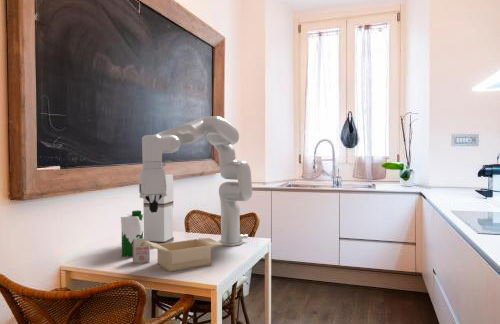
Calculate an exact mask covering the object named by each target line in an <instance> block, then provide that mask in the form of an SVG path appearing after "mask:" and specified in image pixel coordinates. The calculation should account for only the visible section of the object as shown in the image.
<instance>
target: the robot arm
mask: <svg viewBox="0 0 500 324" xmlns="http://www.w3.org/2000/svg"><path fill="white" fill-rule="evenodd" d="M204 137H206V140H207V142H209V143H210V144H211V145H212V146H213V147H214V148H215V150H216V151H217V154H218V155H217V156H218V163H219V173H220V177H221V178H222V179H225V180H230V181H225V182H222V183H221V184H219V187H218V196H219V200H220V201H219V202H220V239H219V240H218V241H217V242H220V243H222V244H223V245H222V246H223V247H224V246H225V247H235V246H237V247H238V246H241V245H243V244H244V240H243V239H248V238H249V235H248V234H244V233H243V234H242V233H240V232H241V231H240V230H241V228H240V226H241V225H240V224H241V223H240V220H241V219H240V217H241V215H240V212H241V211H240V210H241V208H240V206H239V203H238V202H248V201H250V199H251V198H252V196H253V186H252V185H253V183H252V171H251V170H252V169H251V166H250V165H249V163H248V162H247V161H244V160H237V155H236V150H235V147H234V145H235V144H238V141H239V139H240V133H239V131H238V129H237V128H236V127H235V126H234V125H233V124H232V123H230V122H229V121H227V120H226V119H225V118H224V117H221V116H218V115H213V116H211V115H210V116H202V117H199V118H197V119H195V120H192V121H190V122H188V123H185V124H182V125H181V124H180V125H178V126H176V127H172V128H169V129H166V130H163V131H160V132H157V133H156V134H147V135H143V136H142V138H141V145H142V146H141V150H142V151H141V152H142V153H141V155H142V169H141V170H140V172H139V179H138V180H139V181H138V192H139V199H146V200H147V201H148V202H149V210H151V212H152V213H154V212H157V210H158V202H159V200H160V199H161V198H162V197H165V196H167V194H166V190H167V187H166V177H165V175H166V173H165V169H163V167H165V166H166V162H163V154H173V153H176V152H178V151H179V150H180V147H181V145H186V144H191V143H194V142H196V141H198V140H201V139H202V138H204ZM231 180H233V181H231ZM235 180H237V181H235ZM145 195H147V196H145ZM152 195H154V200H153V198H152ZM153 201H154V202H153Z"/></svg>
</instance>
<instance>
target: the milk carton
mask: <svg viewBox="0 0 500 324" xmlns="http://www.w3.org/2000/svg"><path fill="white" fill-rule="evenodd" d="M120 223H121V225H120V227H121V257H128V258H129V257H132V258H133V239H144V213H142V210H138V209H137V210H132V211H131V213H128V214H124V215H122V216H120Z"/></svg>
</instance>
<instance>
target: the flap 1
mask: <svg viewBox="0 0 500 324" xmlns="http://www.w3.org/2000/svg"><path fill="white" fill-rule="evenodd" d="M144 242H145V243H147V244H148V245H150V248H152V249H155V250H157V249H159V250H162V251H166V252H168V250H167V249H165V248H163V247H162V246H160V245H158V244H156V243H152V242H149V241H144Z"/></svg>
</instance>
